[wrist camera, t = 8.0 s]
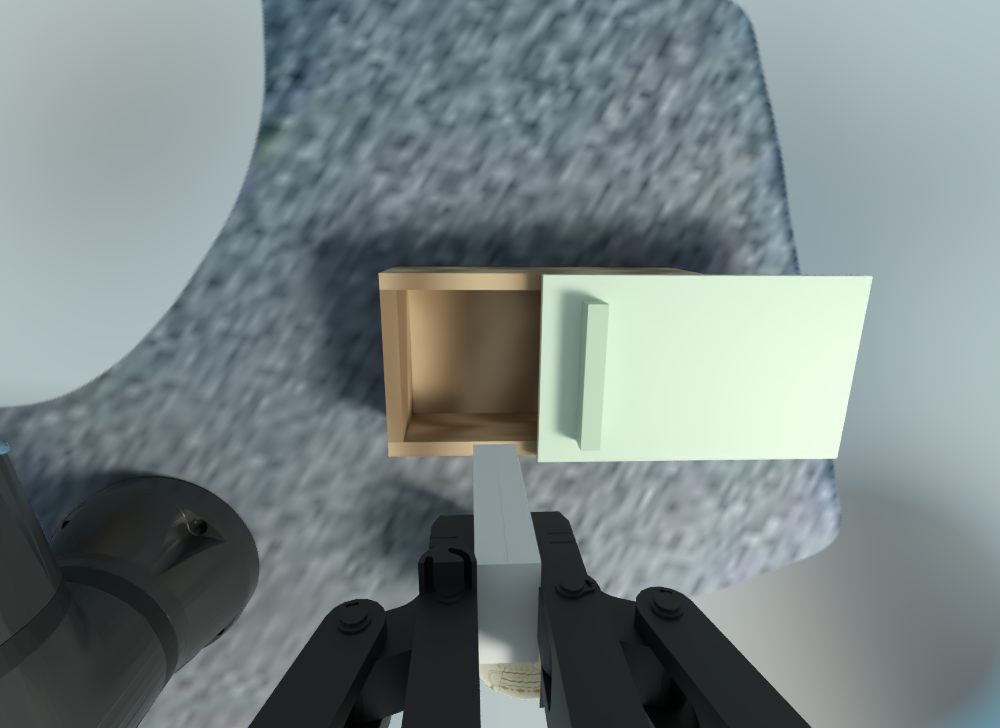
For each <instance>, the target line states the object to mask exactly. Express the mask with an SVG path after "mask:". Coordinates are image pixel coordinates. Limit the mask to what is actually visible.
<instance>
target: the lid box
mask: <svg viewBox="0 0 1000 728" xmlns="http://www.w3.org/2000/svg"><path fill="white" fill-rule="evenodd" d="M542 274H693V275H705V274H702V273H697V272H691V271H686V270H680V269H675V268H670V267H515V266H395V267H392V268H390V269H387V270H385V271H382V272H380V273H379V289H380V307H381V325H382V343H383V362H384V380H385V398H386V416H387V434H388V452H389V457H392V456H473V445H483V444H516V449H517V453H518V455H537V427H538V391H539V355H540V319H541V283H542Z"/></svg>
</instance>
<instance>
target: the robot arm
mask: <svg viewBox="0 0 1000 728" xmlns="http://www.w3.org/2000/svg"><path fill="white" fill-rule="evenodd" d="M7 452H10V446H9V444H8V442H5V441H2V440H1V439H0V728H137V727H138V725H139V724H140V722H141V721H142V719H143V718H144V716H145V715H146V713H147V712H148V710H149V709H150V707H151V706H152V704H153V703H154V701H155V700H156V698H157V697H158V695H159V694H160V693H161V691H162V690H163V688H164V687H165V685H166V684H167V682H168V681H169V680H170V678H171V677H172V675H173V674H174V673H176V672H177V671H178V670H180V669H181V668H182V667H183V666H184V665H186V664H187V663H188V662H189V661H190V660H191V659H193V658H194V657H195V656H196V655H197V654H198V653H199V651H200V650H201V649H202V648H204V647H206V646H208V645H210V644H211V643H213V642H214V641H216V640H217V639H218V638H220V637H221V636H222V635H223V634H225V633H226V632H227V631H228V630H229V629H230V628H231V626H232V625H233V624H234V623H235V622H236V621H237V619H238V618H239V616H240V615H241V613H242V612H243V610H244V608H245V607H246V605H247V604H248V602H249V600H250V599H251V597H252V595H253V593H254V591H255V588H256V585H257V582H258V576H259V557H258V552H257V548H256V545H255V542H254V540H253V537H252V535H251V533H250V531H249V530H248V528H247V526H246V525H245V523H244V522H243V521H242V519H241V518H240V517H239V516H238V515H237V514H236V512H235V511H234V510H233V509H231V508H230V507H229V506H228V505H227V504H226V503H225V502H223V501H222V500H221V499H219V498H218V497H216V496H215V495H213V494H211V493H210V492H208V491H206V490H204V489H202V488H200V487H197V486H195V485H192V484H189V483H186V482H183V481H179V480H174V479H169V478H160V477H142V478H134V479H129V480H125V481H121V482H118V483H115V484H113V485H111V486H108V487H107V488H105V489H103V490H101V491H100V492H98V493H97V494H95V495H94V496H92V497H91V498H89V499H88V500H87V501H85V502H84V503H82V504H81V505H79V506H78V507H77V508H75V509H74V510H73V511H72V512H71V513H70V514H69V515H68V516H67V517H66V518H65V519H64V520H63V521H62V523H61V524H60V525H59V527H58V528H57V530H56V531H55V533H54V534H53V536H52V538H51V540H50V543H49V544H48V542H47V540H46V538H45V536H44V534H43V531H42V529H41V527H40V525H39V523H38V520H37V518H36V516H35V514H34V512H33V509H32V507H31V505H30V503H29V501H28V498H27V496H26V494H25V492H24V490H23V487H22V485H21V483H20V481H19V479H18V476H17V474H16V472H15V470H14V468H13V465H12V463H11V461H10V459H9V457H8V454H7ZM473 509H474V515H450V516H440V517H439V518H438V519H437V520H436V522H435V523H434V524H433V525H432V529H431V536H430V544H429V550H428V551H427V552H426V553H424V554H423V555H422V556H421V558H420V560H419V562H418V571H419V595H418V596H417V597H416V598H415V599H414V600H413V601H411V602H409V603H408V604H406V605H403V606H401V607H398V608H395V609H392V610H388V611H384V608H383V607H382V606H381V605H380V604H379V603H378V602H375V601H372V600H369V599H355V600H351V601H348V602H344V603H342V604H341V605H339V606H337V607H335V608H334V609H333V610H332V611H331V612H330V613H329V614H328V615H327V616H326V617H325V618H324V620H323V621H322V622H321V624H320V625H319V627H318V628H317V630H316V631H315V632H314V634H313V635H312V637H311V638H310V640H309V641H308V642H307V644H306V645H305V647H304V648H303V650H302V651H301V652H300V654H299V655H298V657H297V658H296V660H295V661H294V662H293V664H292V665H291V667H290V668H289V670H288V671H287V673H286V674H285V675H284V677H283V678H282V680H281V681H280V683H279V684H278V685H277V687H276V688H275V690H274V691H273V693H272V694H271V695H270V697H269V698H268V700H267V701H266V703H265V704H264V705H263V707H262V708H261V710H260V711H259V713H258V714H257V715H256V717H255V718H254V720H253V721H252V723H251V724H250V725H249V727H248V728H388V726H389V724H390V720H391V715H393V714H396V713H399V712H401V711H404V712H403V720H402V727H401V728H481V723H480V722H481V721H480V683H479V682H480V681H479V664H496V663H518V662H538V653H540V659H541V681H540V708H544V707H545V713H546V720H547V726H548V728H811V726H810V725H809V724H808V723H807V722H806V721H805V720H804V719H803V718H802V717H801V716H800V715H799V714H798V713H797V712H796V711H795V710H794V708H793V707H792V706H791V705H790V704H789V703H788V702H787V701H786V700H785V699H784V698H783V697H782V696H781V695H780V694H779V693H778V692H777V691H776V689H775V688H774V687H773V686H772V685H771V684H770V683H769V682H768V681H767V680H766V679H765V678H764V677H763V676H762V675H761V674H760V673H759V672H758V671H757V670H756V668H755V667H754V666H753V665H752V664H751V663H750V662H749V661H748V660H747V659H746V658H745V657H744V656H743V655H742V654H741V652H740V651H739V650H737V648H736V647H735V646H734V645H733V644H732V643H731V642H730V641H729V640H728V639H727V638H726V637H725V636H724V635H723V634H722V632H721V631H720V630H719V629H718V628H717V627H716V626H715V625H714V624H713V623H712V622H711V621H710V620H709V619H708V618H707V617H706V616H705V615H704V614H703V612H702V611H701V610H700V609H699V608H698V607H697V606H696V605H695V604H694V603H693V602H692V601H691V600H690V599H689V598H687V597H686V596H685V595H684V594H682V593H680V592H677V591H675V590H673V589H670V588H664V587H649V588H647V589H644V590H642V591H641V592H640V593H639V594H638V596H637V597H636V602H635V601H630V600H625V599H620V598H617V597H613V596H610V595H608V594H606V593H604V592H602V591H601V590H600V587H599V586H598V584H597V583H596V581H595V580H594V579H593V578H591V577H590V576H588V575H587V572H586V569H585V566H584V563H583V560H582V558H581V555H580V552H579V549H578V546H577V543H576V540H575V537H574V534H573V531H572V529H571V526H570V523H569V521H568V520H567V519H566V518H565V517H564V516H563V515H562V514H561V513H560V512H559V511H555V512H530V508H529V504H528V499H527V495H526V490H525V485H524V481H523V476H522V472H521V467H520V462H519V458H518V453H517V449H516V444H483V445H473Z"/></svg>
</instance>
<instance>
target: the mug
mask: <svg viewBox="0 0 1000 728" xmlns="http://www.w3.org/2000/svg"><path fill="white" fill-rule="evenodd" d="M479 677H480V679H481V680H482V681H483V682H484V683H485V684H486V685H487V686H489V687H490V688H491V689H493V690H495V691H496V692H498V693H500V694H503V695H505V696H509V697H513V698H517V699H540V681H541V659H540V653H538V662H518V663H496V664H479Z"/></svg>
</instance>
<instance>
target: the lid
mask: <svg viewBox="0 0 1000 728" xmlns="http://www.w3.org/2000/svg"><path fill="white" fill-rule="evenodd" d="M872 277H873V276H867V275H693V274H542V283H541V319H540V355H539V391H538V427H537V460H538V462H587V461H667V460H747V459H826V458H837V455H838V450H839V445H840V440H841V435H842V429H843V425H844V420H845V415H846V410H847V404H848V399H849V394H850V389H851V384H852V379H853V374H854V369H855V364H856V359H857V354H858V348H859V344H860V338H861V333H862V328H863V323H864V318H865V313H866V308H867V303H868V298H869V293H870V287H871V282H872Z"/></svg>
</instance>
